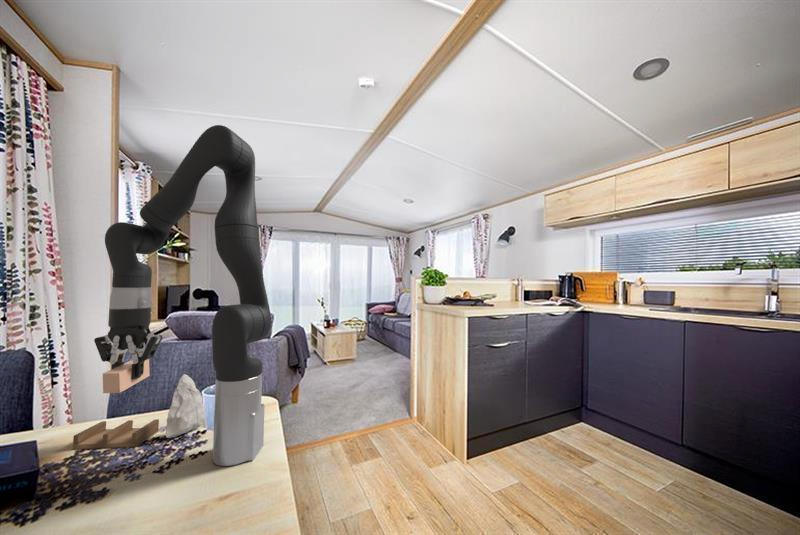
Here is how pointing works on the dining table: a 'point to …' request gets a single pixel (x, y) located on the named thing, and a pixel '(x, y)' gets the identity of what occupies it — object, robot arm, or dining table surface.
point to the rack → (114, 435)
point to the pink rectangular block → (122, 377)
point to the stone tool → (185, 408)
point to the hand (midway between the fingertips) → (127, 378)
